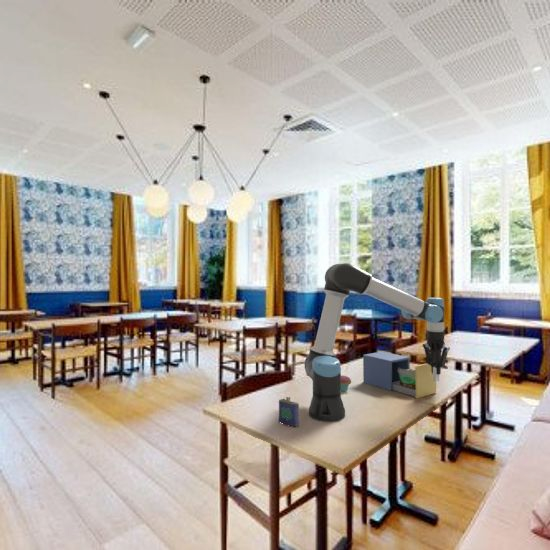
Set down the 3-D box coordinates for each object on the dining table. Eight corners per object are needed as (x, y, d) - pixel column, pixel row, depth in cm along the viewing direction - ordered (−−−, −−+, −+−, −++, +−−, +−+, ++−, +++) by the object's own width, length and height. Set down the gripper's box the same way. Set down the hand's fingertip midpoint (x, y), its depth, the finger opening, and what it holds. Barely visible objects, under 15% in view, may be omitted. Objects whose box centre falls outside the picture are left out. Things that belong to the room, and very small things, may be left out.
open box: (390, 390, 190) (390, 360, 190) (363, 382, 205) (363, 354, 205) (409, 385, 198) (409, 357, 198) (382, 378, 213) (381, 351, 213)
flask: (300, 426, 146) (299, 398, 146) (295, 428, 143) (295, 400, 144) (281, 420, 152) (280, 393, 152) (276, 422, 149) (276, 395, 149)
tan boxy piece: (417, 398, 177) (416, 366, 177) (387, 389, 191) (387, 359, 191) (436, 392, 185) (435, 362, 185) (406, 384, 200) (406, 356, 200)
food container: (396, 389, 187) (396, 369, 187) (397, 386, 193) (397, 366, 193) (423, 392, 182) (422, 371, 182) (423, 388, 188) (423, 368, 188)
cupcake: (331, 390, 190) (331, 367, 190) (337, 386, 198) (337, 363, 198) (348, 393, 186) (348, 368, 186) (353, 388, 194) (353, 365, 194)
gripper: (453, 331, 173) (453, 382, 173) (428, 328, 184) (428, 376, 184) (443, 333, 169) (444, 385, 169) (418, 329, 180) (419, 379, 180)
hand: (436, 380), depth 177 cm, fingers closed
